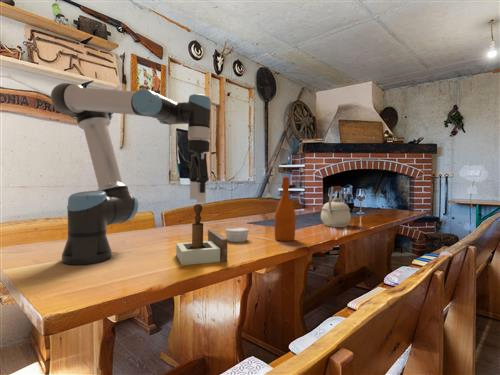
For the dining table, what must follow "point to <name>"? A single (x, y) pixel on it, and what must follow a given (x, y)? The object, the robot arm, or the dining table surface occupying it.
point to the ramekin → (237, 234)
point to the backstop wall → (219, 243)
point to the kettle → (335, 211)
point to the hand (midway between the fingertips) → (197, 201)
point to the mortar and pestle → (197, 230)
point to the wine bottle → (285, 216)
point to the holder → (197, 253)
